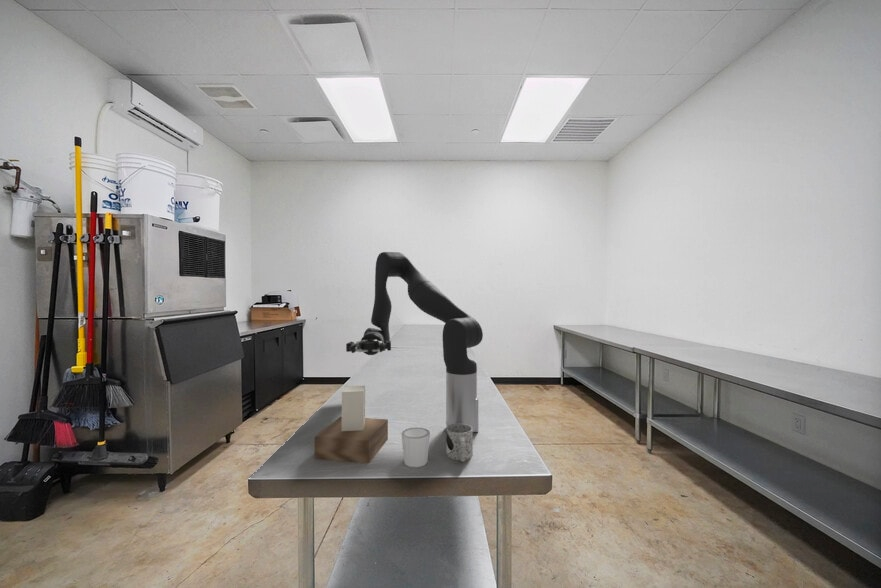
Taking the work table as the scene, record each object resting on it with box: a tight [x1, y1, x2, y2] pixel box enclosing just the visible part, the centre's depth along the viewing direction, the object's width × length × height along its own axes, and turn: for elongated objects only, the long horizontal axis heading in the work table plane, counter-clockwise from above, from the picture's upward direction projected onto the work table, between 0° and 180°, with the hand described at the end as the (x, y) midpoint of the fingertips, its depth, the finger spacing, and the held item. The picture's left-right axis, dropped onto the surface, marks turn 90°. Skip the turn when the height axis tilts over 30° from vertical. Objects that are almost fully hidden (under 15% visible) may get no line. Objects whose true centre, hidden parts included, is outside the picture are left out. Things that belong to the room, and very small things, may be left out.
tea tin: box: [341, 385, 366, 431], centre depth 90 cm, size 5×5×10 cm
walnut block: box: [314, 415, 389, 465], centre depth 90 cm, size 14×14×6 cm
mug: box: [445, 423, 474, 463], centre depth 85 cm, size 10×7×7 cm, turn 4°
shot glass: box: [401, 427, 431, 468], centre depth 83 cm, size 7×7×7 cm
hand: (366, 349), depth 106 cm, fingers open, 8 cm apart
